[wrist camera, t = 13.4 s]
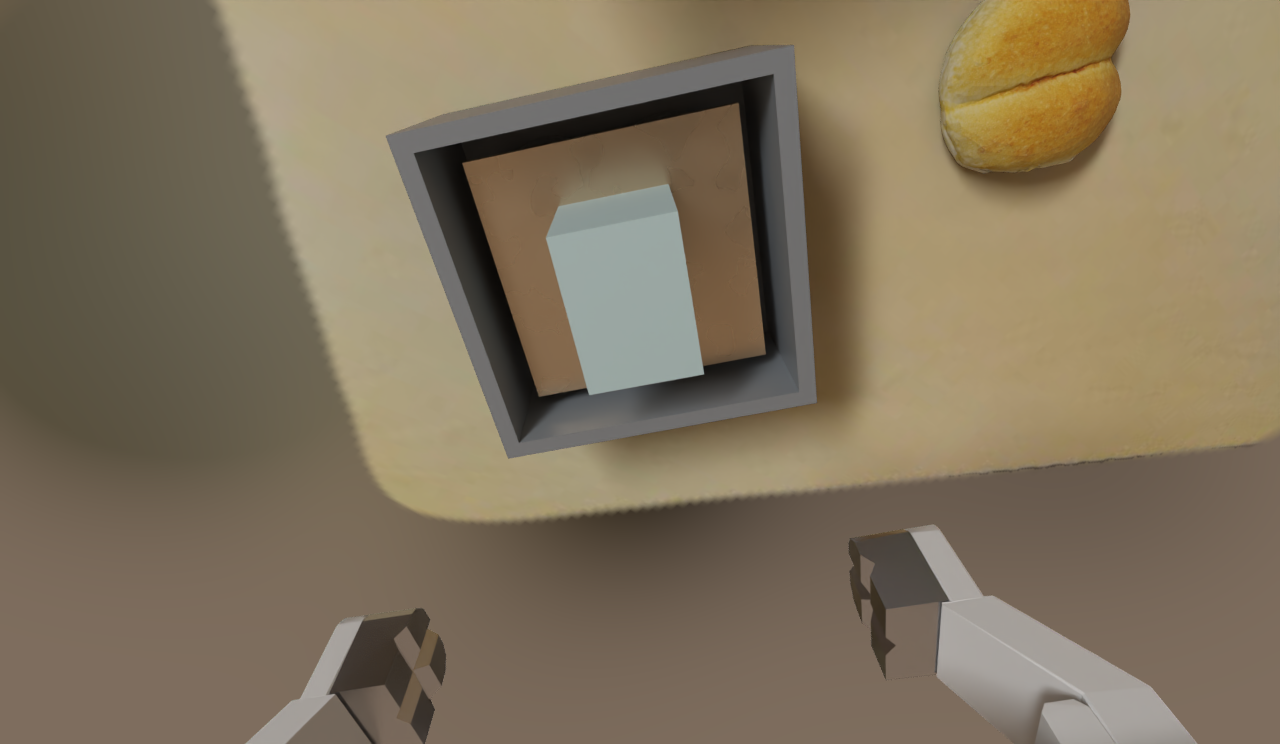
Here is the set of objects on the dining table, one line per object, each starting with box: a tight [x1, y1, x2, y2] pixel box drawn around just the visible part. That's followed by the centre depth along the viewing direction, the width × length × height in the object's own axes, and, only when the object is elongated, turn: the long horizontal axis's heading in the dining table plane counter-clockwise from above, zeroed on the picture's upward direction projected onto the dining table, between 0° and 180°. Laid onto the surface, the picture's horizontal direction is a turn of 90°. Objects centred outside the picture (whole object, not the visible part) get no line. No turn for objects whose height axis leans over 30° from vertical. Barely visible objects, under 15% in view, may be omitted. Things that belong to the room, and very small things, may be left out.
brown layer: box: [462, 102, 766, 397], centre depth 30 cm, size 12×12×4 cm
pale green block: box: [546, 184, 704, 395], centre depth 26 cm, size 5×7×5 cm
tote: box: [386, 45, 817, 458], centre depth 29 cm, size 16×16×8 cm
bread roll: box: [938, 0, 1130, 174], centre depth 28 cm, size 8×9×4 cm
